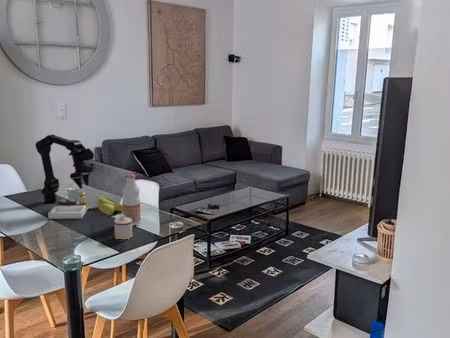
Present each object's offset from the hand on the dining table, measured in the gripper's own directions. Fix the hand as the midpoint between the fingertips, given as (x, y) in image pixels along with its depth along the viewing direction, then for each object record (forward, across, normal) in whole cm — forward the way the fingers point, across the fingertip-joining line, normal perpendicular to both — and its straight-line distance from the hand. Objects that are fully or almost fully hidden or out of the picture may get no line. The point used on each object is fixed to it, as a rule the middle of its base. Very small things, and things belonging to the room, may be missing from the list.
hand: (84, 187), depth 244 cm
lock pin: (+13, +2, +5) cm, 14 cm away
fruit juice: (+23, -19, -30) cm, 43 cm away
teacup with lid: (+24, -38, -30) cm, 54 cm away
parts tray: (+13, -11, +9) cm, 19 cm away
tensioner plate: (+12, +1, +10) cm, 16 cm away
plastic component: (+17, +2, -12) cm, 21 cm away
